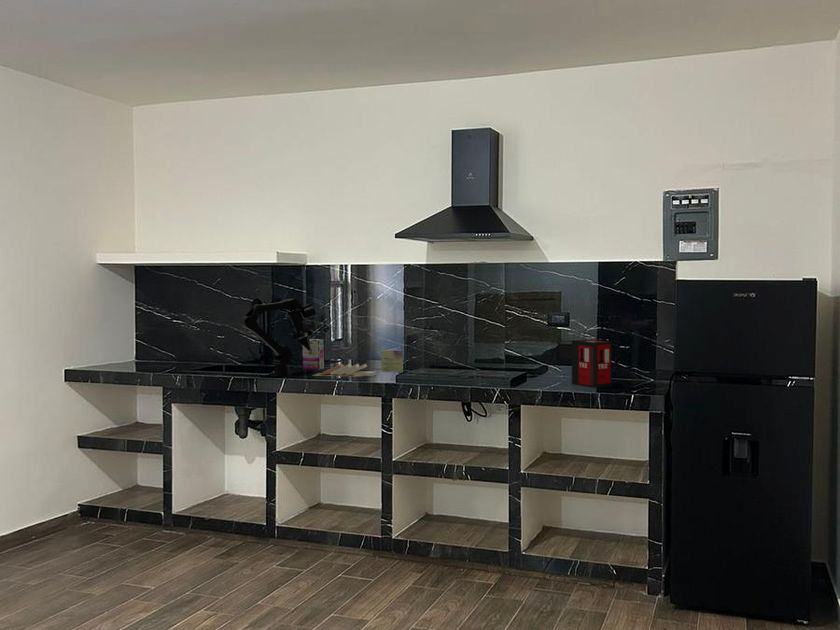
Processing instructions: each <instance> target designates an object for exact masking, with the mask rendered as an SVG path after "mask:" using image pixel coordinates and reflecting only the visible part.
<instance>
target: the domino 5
mask: <svg viewBox="0 0 840 630" xmlns="http://www.w3.org/2000/svg"><path fill="white" fill-rule="evenodd" d="M353 374H354V376H353V377H357V376H362V377H374V376H376V375H377V371H365V370H364V371H363V370H361V371H360V370H359V371H356V372H354V373H353Z"/></svg>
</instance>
